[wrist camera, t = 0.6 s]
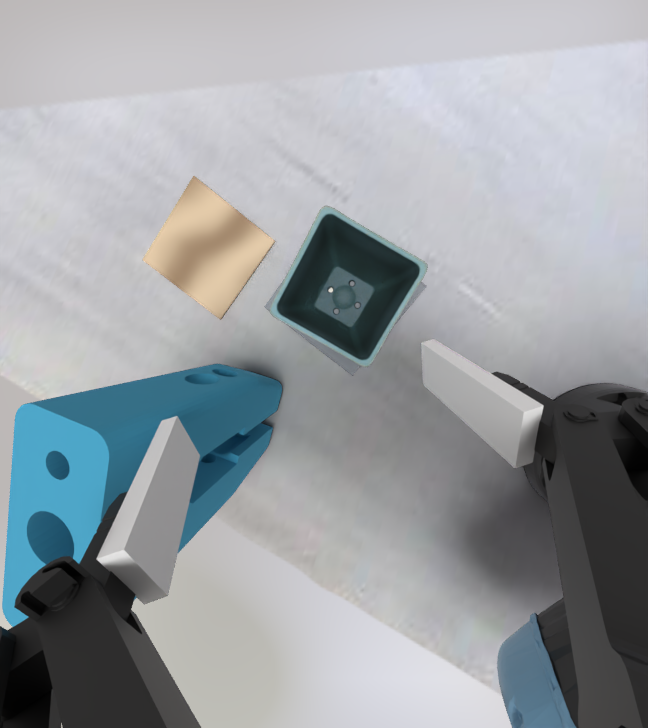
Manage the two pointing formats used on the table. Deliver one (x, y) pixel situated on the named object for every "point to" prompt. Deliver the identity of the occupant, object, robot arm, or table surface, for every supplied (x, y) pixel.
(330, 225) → the flower pot
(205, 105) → the table surface
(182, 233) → the cork mat
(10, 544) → the block
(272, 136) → the table surface
